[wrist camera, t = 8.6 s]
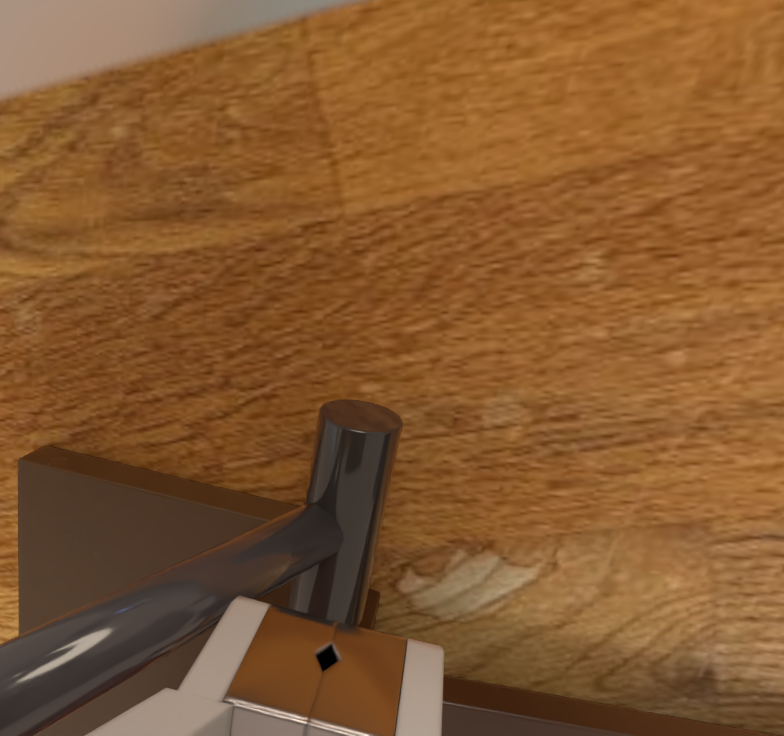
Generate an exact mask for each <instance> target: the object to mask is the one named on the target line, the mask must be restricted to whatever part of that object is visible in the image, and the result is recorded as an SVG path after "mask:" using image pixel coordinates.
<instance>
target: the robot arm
mask: <svg viewBox="0 0 784 736" xmlns="http://www.w3.org/2000/svg"><path fill="white" fill-rule="evenodd" d="M443 674H444V650H443V648H442V646H440V645H436V644H431V643H427V642H423V641H418V640H414V639H410V638H408V639H407V640H406V638H403V637H399V636H395V635H391V634H387V633H383V632H378V631H374V630H370V629H366V628H362V627H358V626H353V625H349V624H345V623H341V622H336V621H332V620H329V619H325V618H322V617H318V616H314V615H311V614H307V613H304V612H300V611H296V610H293V609H289V608H286V607H282V606H278V605H275V604H272V605H271V604H268V603H264V602H261V601H257V600H254V599H250V598H247V597H243V596H240V595H239V596H238V597H237V598H235V599H234V600H233V601H232V602H231V603H230V605H229V606H228V608H227V610H226V611H225V613H224V615H223V616H222V618H221V619H220V621H219V623H218V624H217V626H216V628H215V629H214V631H213V633H212V634H211V636H210V637H209V639H208V641H207V642H206V644H205V646H204V647H203V649H202V651H201V652H200V654H199V655H198V657H197V659H196V660H195V662H194V664H193V665H192V667H191V669H190V670H189V672H188V673H187V675H186V677H185V678H184V680H183V682H182V683H181V685H180V687H179V688H178V690H174V689H170V688H164V689H163V690H161V691H159V692H158V693H156V694H154V695H152V696H151V697H149V698H147V699H146V700H144V701H142V702H141V703H139V704H137V705H135V706H134V707H132V708H130V709H129V710H127V711H125V712H123V713H122V714H120V715H118V716H117V717H115V718H113V719H112V720H110V721H108V722H106V723H105V724H103V725H101V726H100V727H98V728H96V729H95V730H93V731H91V732H89V733H88V734H86V735H84V736H441V733H442V703H443Z"/></svg>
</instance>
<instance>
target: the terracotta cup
mask: <svg viewBox="0 0 784 736" xmlns="http://www.w3.org/2000/svg"><path fill="white" fill-rule="evenodd" d="M402 428H403V421H402V419H401V417H400V416H399V415H398V414H396V413H395V412H393V411H392V410H390V409H388V408H385V407H383V406H380V405H377V404H374V403H370V402H366V401H359V400H334V401H330V402H327V403H325V404H323V405H322V406H321V408H320V409H319V415H318V421H317V427H316V434H315V440H314V446H313V452H312V458H311V465H310V471H309V477H308V483H307V490H306V496H305V502H304V505H303V506H301V507H299V508H297V509H294V510H292V511H290V512H288V513H286V514H283V515H281V516H279V517H277V518H275V519H273V520H270V521H268V522H266V523H264V524H262V525H259V526H257V527H255V528H253V529H251V530H249V531H246V532H244V533H242V534H240V535H238V536H235V537H233V538H231V539H229V540H227V541H225V542H222V543H220V544H218V545H216V546H214V547H211V548H209V549H207V550H205V551H203V552H201V553H198V554H196V555H194V556H192V557H190V558H187V559H185V560H183V561H181V562H179V563H177V564H174V565H172V566H170V567H168V568H166V569H163V570H161V571H159V572H157V573H155V574H152V575H150V576H148V577H146V578H144V579H142V580H139V581H137V582H135V583H133V584H131V585H128V586H126V587H124V588H122V589H120V590H118V591H115V592H113V593H111V594H109V595H107V596H104V597H102V598H100V599H98V600H96V601H94V602H91V603H89V604H87V605H85V606H83V607H80V608H78V609H76V610H74V611H72V612H70V613H67V614H65V615H63V616H61V617H59V618H56V619H54V620H52V621H50V622H48V623H46V624H43V625H41V626H39V627H37V628H35V629H32V630H30V631H28V632H26V633H24V634H22V635H19V636H17V637H15V638H13V639H11V640H8V641H6V642H4V643H2V644H0V736H35V735H36V734H38V733H40V732H41V731H43V730H45V729H46V728H48V727H50V726H51V725H53V724H54V723H56V722H58V721H59V720H61V719H63V718H64V717H66V716H68V715H69V714H71V713H73V712H74V711H76V710H78V709H79V708H81V707H83V706H84V705H86V704H88V703H89V702H91V701H93V700H94V699H96V698H98V697H99V696H101V695H102V694H104V693H106V692H107V691H109V690H111V689H112V688H114V687H116V686H117V685H119V684H121V683H122V682H124V681H126V680H127V679H129V678H131V677H132V676H134V675H136V674H137V673H139V672H141V671H142V670H144V669H145V668H147V667H149V666H150V665H152V664H154V663H155V662H157V661H159V660H160V659H162V658H164V657H165V656H167V655H169V654H170V653H172V652H174V651H175V650H177V649H179V648H180V647H182V646H184V645H185V644H187V643H188V642H190V641H192V640H193V639H195V638H197V637H198V636H200V635H202V634H203V633H205V632H207V631H208V630H210V629H212V628H213V627H215V626H217V624H218V623H219V621H220V619H221V618H222V616H223V615H224V613H225V611H226V610H227V608H228V606H229V605H230V603H231V602H232V601H233V600H234V599H235V598H237V597H238V596H239V595H240V596H243V597H247V598H250V599H254V600H257V601H258V600H260V599H261V598H263V597H265V596H266V595H268V594H270V593H271V592H273V591H274V590H276V589H278V588H279V587H281V586H283V585H284V584H286V583H288V582H289V581H291V580H292V583H291V589H290V595H289V601H288V608H289V609H293V610H296V611H300V612H304V613H307V614H311V615H314V616H318V617H322V618H325V619H329V620H332V621H336V622H341V623H345V624H349V625H353V626H358V625H359V624H360V622H361V620H362V618H363V614H364V610H365V605H366V600H367V595H368V591H369V586H370V581H371V576H372V571H373V567H374V562H375V557H376V552H377V547H378V543H379V538H380V533H381V528H382V523H383V519H384V514H385V509H386V504H387V499H388V495H389V490H390V485H391V480H392V476H393V471H394V466H395V461H396V456H397V452H398V447H399V442H400V437H401V432H402Z"/></svg>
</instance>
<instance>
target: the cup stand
mask: <svg viewBox="0 0 784 736" xmlns="http://www.w3.org/2000/svg"><path fill="white" fill-rule="evenodd" d="M299 507H300V506H296V505H291V504H287V503H283V502H279V501H275V500H271V499H267V498H262V497H258V496H254V495H250V494H246V493H242V492H238V491H233V490H229V489H225V488H221V487H217V486H213V485H209V484H204V483H200V482H196V481H192V480H188V479H184V478H179V477H175V476H171V475H167V474H163V473H159V472H155V471H150V470H146V469H142V468H138V467H134V466H130V465H126V464H121V463H117V462H113V461H109V460H105V459H101V458H97V457H92V456H88V455H84V454H80V453H76V452H72V451H67V450H63V449H59V448H55V447H51V446H43V447H42V448H40V449H38V450H36V451H34V452H32V453H30V454H28V455H26V456H24V457H22V458H20V459H19V460H18V567H19V635H22V634H24V633H26V632H28V631H30V630H32V629H35V628H37V627H39V626H41V625H43V624H46V623H48V622H50V621H52V620H54V619H56V618H59V617H61V616H63V615H65V614H67V613H70V612H72V611H74V610H76V609H78V608H80V607H83V606H85V605H87V604H89V603H91V602H94V601H96V600H98V599H100V598H102V597H104V596H107V595H109V594H111V593H113V592H115V591H118V590H120V589H122V588H124V587H126V586H128V585H131V584H133V583H135V582H137V581H139V580H142V579H144V578H146V577H148V576H150V575H152V574H155V573H157V572H159V571H161V570H163V569H166V568H168V567H170V566H172V565H174V564H177V563H179V562H181V561H183V560H185V559H187V558H190V557H192V556H194V555H196V554H198V553H201V552H203V551H205V550H207V549H209V548H211V547H214V546H216V545H218V544H220V543H222V542H225V541H227V540H229V539H231V538H233V537H235V536H238V535H240V534H242V533H244V532H246V531H249V530H251V529H253V528H255V527H257V526H259V525H262V524H264V523H266V522H268V521H270V520H273V519H275V518H277V517H279V516H281V515H283V514H286V513H288V512H290V511H292V510H294V509H297V508H299ZM291 583H292V580H291V581H289V582H288V583H286V584H284V585H283V586H281V587H279V588H278V589H276V590H274V591H273V592H271V593H270V594H268V595H266V596H265V597H263V598H261V599H260V600H258V601H261V602H264V603H268V604H271V605H272V604H275V605H278V606H282V607H286V608H288V601H289V595H290V589H291ZM215 628H216V626H215V627H213V628H212V629H210V630H208V631H207V632H205V633H203V634H202V635H200V636H198V637H197V638H195V639H193V640H192V641H190V642H188V643H187V644H185V645H184V646H182V647H180V648H179V649H177V650H175V651H174V652H172V653H170V654H169V655H167V656H165V657H164V658H162V659H160V660H159V661H157V662H155V663H154V664H152V665H150V666H149V667H147V668H145V669H144V670H142V671H141V672H139V673H137V674H136V675H134V676H132V677H131V678H129V679H127V680H126V681H124V682H122V683H121V684H119V685H117V686H116V687H114V688H112V689H111V690H109V691H107V692H106V693H104V694H102V695H101V696H99V697H98V698H96V699H94V700H93V701H91V702H89V703H88V704H86V705H84V706H83V707H81V708H79V709H78V710H76V711H74V712H73V713H71V714H69V715H68V716H66V717H64V718H63V719H61V720H59V721H58V722H56V723H54V724H53V725H51V726H50V727H48V728H46V729H45V730H43V731H41V732H40V733H38V734H36V735H35V736H84V735H86V734H88V733H89V732H91V731H93V730H95V729H96V728H98V727H100V726H101V725H103V724H105V723H106V722H108V721H110V720H112V719H113V718H115V717H117V716H118V715H120V714H122V713H123V712H125V711H127V710H129V709H130V708H132V707H134V706H135V705H137V704H139V703H141V702H142V701H144V700H146V699H147V698H149V697H151V696H152V695H154V694H156V693H158V692H159V691H161V690H163V689H164V688H170V689H174V690H178V688H179V687H180V685H181V683H182V682H183V680H184V678H185V677H186V675H187V673H188V672H189V670H190V669H191V667H192V665H193V664H194V662H195V660H196V659H197V657H198V655H199V654H200V652H201V651H202V649H203V647H204V646H205V644H206V642H207V641H208V639H209V637H210V636H211V634H212V633H213V631H214V629H215Z"/></svg>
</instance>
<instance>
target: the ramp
mask: <svg viewBox="0 0 784 736" xmlns="http://www.w3.org/2000/svg"><path fill="white" fill-rule="evenodd" d="M379 598H380V593H379V592H378V591H374V590H370V589H369V591H368V595H367V600H366V605H365V610H364V614H363V618H362V620H361V622H360V624H359V625H358V627H362V628H366V629H370V630H373V626H374V621H375V617H376V612H377V607H378V603H379ZM441 736H778V735H773V734H767V733H762V732H756V731H751V730H745V729H740V728H734V727H729V726H723V725H718V724H712V723H706V722H701V721H695V720H690V719H684V718H679V717H673V716H668V715H662V714H657V713H651V712H646V711H640V710H634V709H629V708H623V707H618V706H612V705H607V704H601V703H596V702H590V701H585V700H579V699H574V698H568V697H562V696H557V695H551V694H546V693H540V692H535V691H529V690H524V689H518V688H513V687H507V686H502V685H496V684H490V683H485V682H479V681H474V680H468V679H463V678H457V677H452V676H446V675H443V703H442V733H441Z"/></svg>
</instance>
